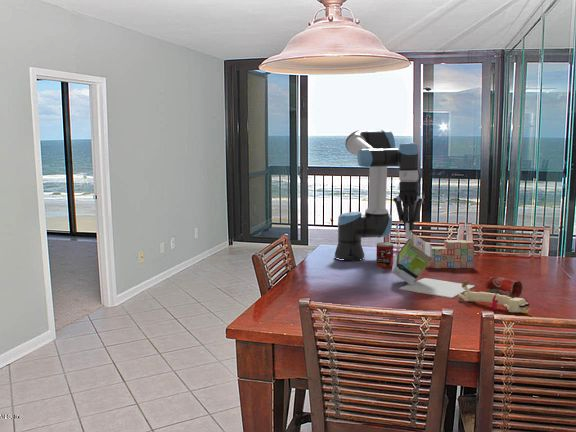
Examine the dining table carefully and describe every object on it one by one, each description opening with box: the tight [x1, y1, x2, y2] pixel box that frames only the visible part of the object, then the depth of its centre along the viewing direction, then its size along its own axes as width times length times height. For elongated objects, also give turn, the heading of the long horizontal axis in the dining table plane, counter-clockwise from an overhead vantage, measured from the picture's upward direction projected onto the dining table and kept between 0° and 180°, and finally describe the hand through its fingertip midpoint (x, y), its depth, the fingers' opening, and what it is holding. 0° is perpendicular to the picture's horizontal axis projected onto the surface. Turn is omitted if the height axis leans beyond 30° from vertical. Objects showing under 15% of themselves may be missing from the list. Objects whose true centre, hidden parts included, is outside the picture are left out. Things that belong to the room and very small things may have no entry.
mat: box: [398, 277, 476, 299], centre depth 222 cm, size 22×22×1 cm
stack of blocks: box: [425, 239, 475, 269], centre depth 260 cm, size 21×6×12 cm, turn 89°
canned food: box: [375, 241, 394, 269], centre depth 262 cm, size 8×8×11 cm
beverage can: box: [485, 276, 524, 298], centre depth 210 cm, size 7×12×7 cm, turn 38°
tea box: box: [391, 233, 433, 285], centre depth 229 cm, size 15×10×15 cm
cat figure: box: [457, 280, 531, 314], centre depth 195 cm, size 10×9×25 cm
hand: (408, 238), depth 228 cm, fingers closed
